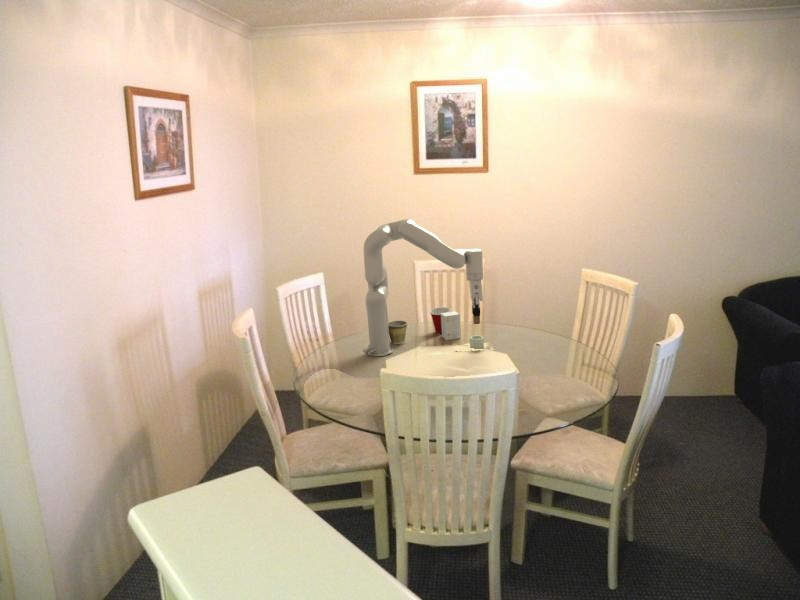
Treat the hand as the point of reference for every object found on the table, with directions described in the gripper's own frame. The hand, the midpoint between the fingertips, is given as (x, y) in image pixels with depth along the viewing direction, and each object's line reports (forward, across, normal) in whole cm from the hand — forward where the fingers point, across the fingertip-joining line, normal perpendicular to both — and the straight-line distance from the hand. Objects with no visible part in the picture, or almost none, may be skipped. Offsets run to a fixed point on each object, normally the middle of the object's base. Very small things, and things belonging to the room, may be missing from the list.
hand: (476, 314), depth 300 cm
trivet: (+17, +1, +2) cm, 17 cm away
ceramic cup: (+17, +18, +37) cm, 45 cm away
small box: (+17, +18, +11) cm, 27 cm away
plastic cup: (+17, +30, +16) cm, 38 cm away
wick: (+4, 0, 0) cm, 4 cm away
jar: (+16, 0, 0) cm, 16 cm away
